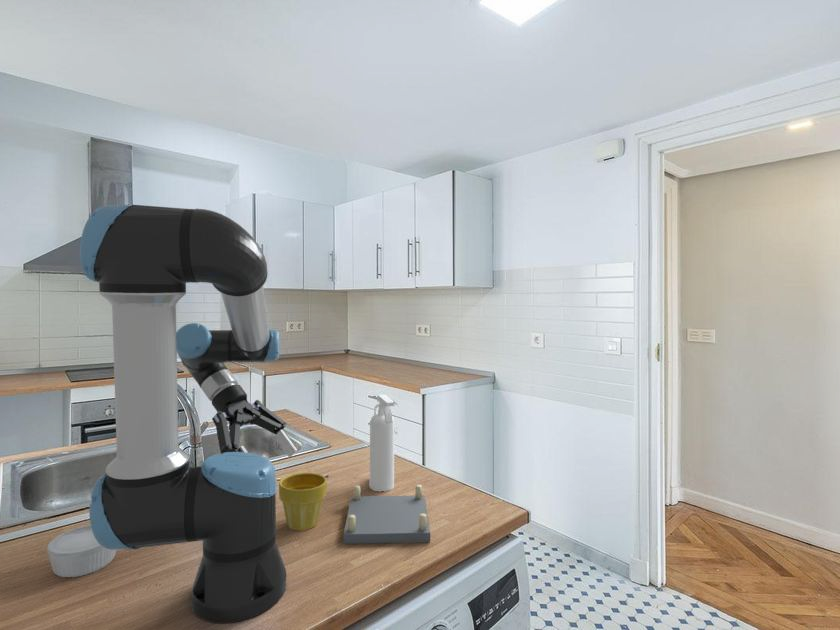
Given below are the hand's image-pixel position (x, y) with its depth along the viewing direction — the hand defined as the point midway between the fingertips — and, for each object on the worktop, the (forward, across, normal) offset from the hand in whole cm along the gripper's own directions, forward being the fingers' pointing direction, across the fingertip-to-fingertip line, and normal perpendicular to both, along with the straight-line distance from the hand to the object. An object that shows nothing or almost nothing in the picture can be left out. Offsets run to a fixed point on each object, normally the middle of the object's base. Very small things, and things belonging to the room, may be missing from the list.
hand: (275, 463), depth 106 cm
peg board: (+27, -7, +10) cm, 29 cm away
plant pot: (+15, +1, -3) cm, 15 cm away
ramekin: (-5, +30, -23) cm, 38 cm away
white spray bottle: (+20, -24, +2) cm, 31 cm away
